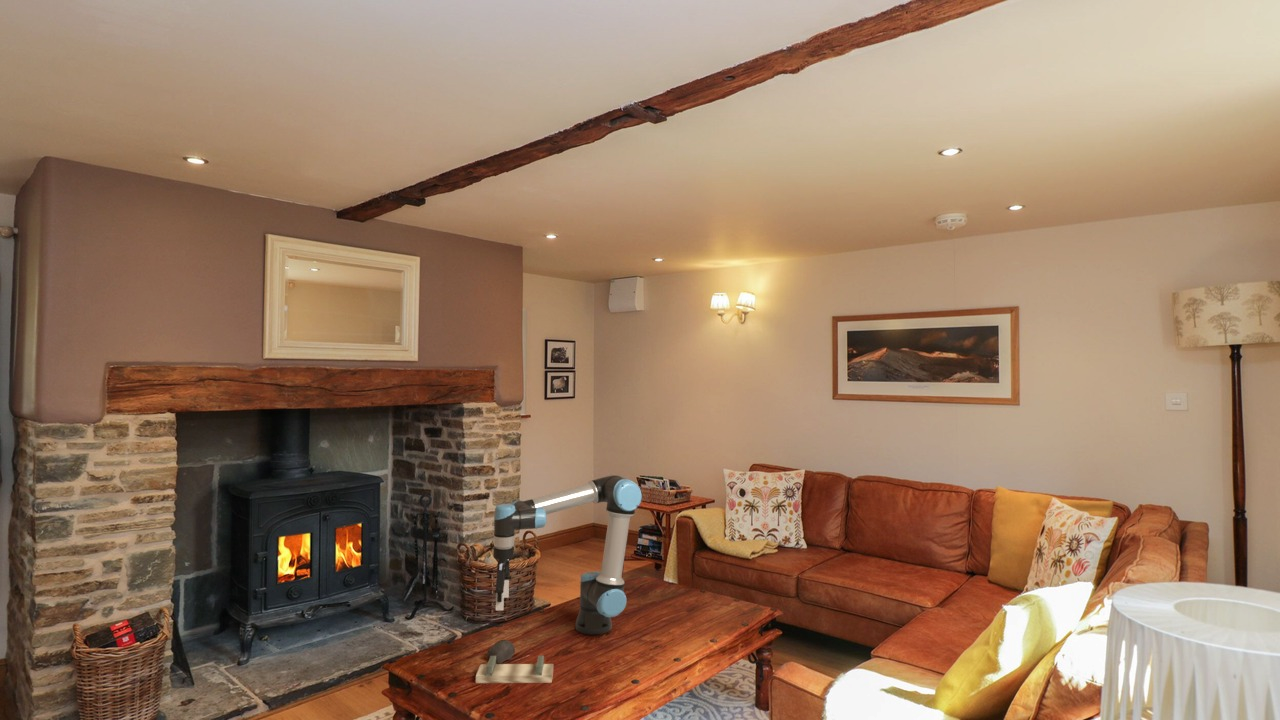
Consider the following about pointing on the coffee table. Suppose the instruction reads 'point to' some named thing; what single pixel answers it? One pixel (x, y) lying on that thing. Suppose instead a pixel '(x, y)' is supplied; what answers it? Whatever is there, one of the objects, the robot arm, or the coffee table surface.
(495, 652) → the stone
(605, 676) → the coffee table surface
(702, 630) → the coffee table surface
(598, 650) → the coffee table surface
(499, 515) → the robot arm
